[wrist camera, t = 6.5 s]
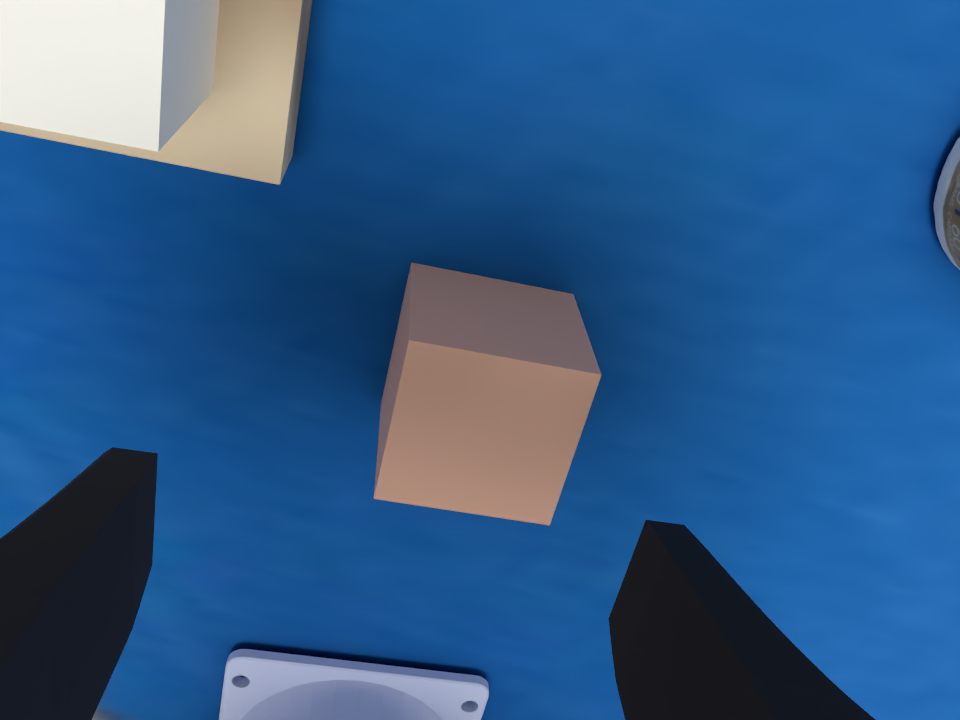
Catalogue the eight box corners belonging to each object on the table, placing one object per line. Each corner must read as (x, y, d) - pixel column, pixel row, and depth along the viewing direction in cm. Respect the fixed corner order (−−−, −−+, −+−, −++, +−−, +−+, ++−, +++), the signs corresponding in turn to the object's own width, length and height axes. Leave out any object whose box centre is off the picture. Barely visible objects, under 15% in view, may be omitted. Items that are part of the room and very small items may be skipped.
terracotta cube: (531, 427, 24) (549, 525, 20) (381, 401, 23) (373, 498, 19) (573, 292, 22) (601, 374, 18) (411, 261, 21) (409, 340, 18)
